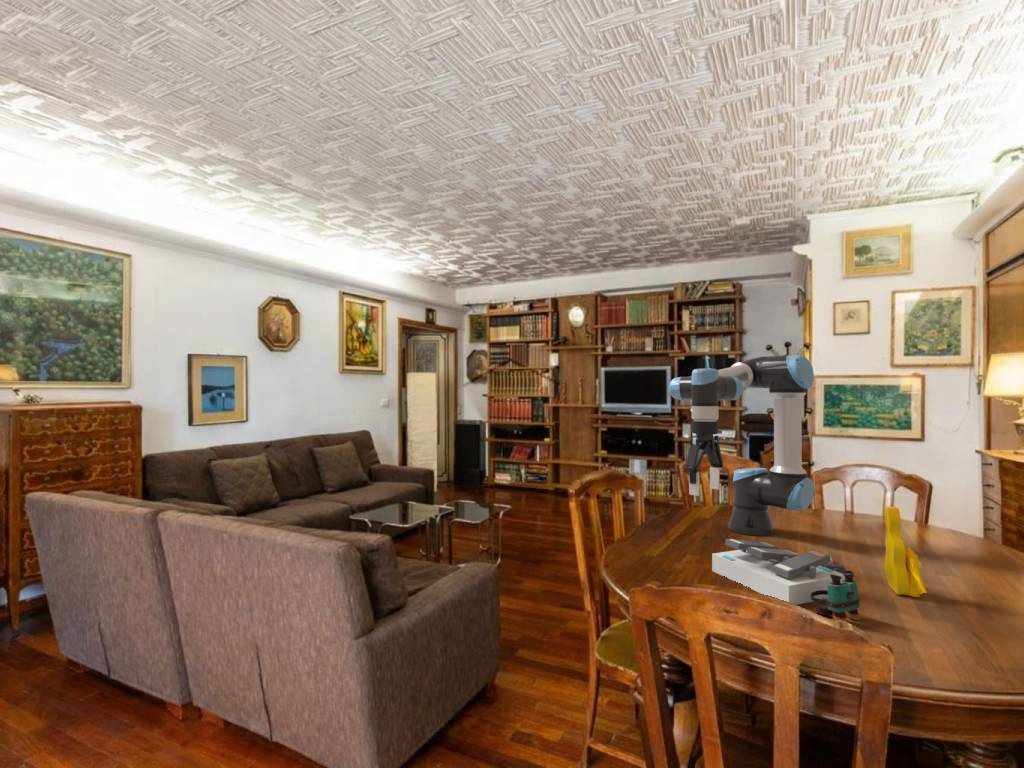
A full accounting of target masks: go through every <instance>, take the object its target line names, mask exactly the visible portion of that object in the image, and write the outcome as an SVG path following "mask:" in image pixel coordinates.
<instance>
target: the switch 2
mask: <svg viewBox="0 0 1024 768" xmlns="http://www.w3.org/2000/svg"><path fill="white" fill-rule="evenodd" d="M747 553H749V554H751V555H754V556H756V557H759V558H762V559H775V560H782V557H785V556H786V557H789V558H793V557H795V556H798V555H800V554H801V553H796V552H794V551H791V550H788V549H779V550H777V549H766V548H756V547H748V548H747Z"/></svg>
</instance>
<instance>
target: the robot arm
mask: <svg viewBox="0 0 1024 768" xmlns="http://www.w3.org/2000/svg"><path fill="white" fill-rule="evenodd" d="M814 380H815V375H814V369H813V366H812V363H811V362H810V360H809V358H807V357H805V355H802V354H801V355H800V354H787V355H774V356H773V355H772V356H771V355H770V356H759V357H755V358H750V359H746V360H743V361H740V362H735V363H733V364H732V365H731V366H730V367H725V368H721V369H716V368H695V369H693V370H692V372H691V375H690V376H679V377H674V378H673V379H671V381H670V383H669V386H668V387H669V394H670V396H671V397H672V398H673V399H675V400H681V401H684V400H686V401H687V400H689V401H690V400H691V409H690V412H691V419H692V421H691V425H690V426H691V433H692V434H695V437H690V439H689V440H690V442H689V449H688V453H687V457H686V462H685V465H684V470H685V472H687V473H688V482H689V483H688V485H689V487H688V491H689V492H688V493H689V494H688V495H690V496H697V497H698V496H700V472H699V469H700V466H701V463H702V460H703V457H704V455H706V456H707V459H708V461H709V464H710V467H709V489H711V490H720V469H721V468H724V461H723V456H722V452H721V451H722V450H721V447H720V441H719V435H718V434H719V422H718V420H719V401H725V402H728V401H729V402H730V401H734V400H737V399H739V398H740V397H741V395H742V393H743V390H744V389H746V388H747V389H748V388H752V389H755V388H756V389H768V392H769V393H768V394H769V395H770V396H772V397H773V459H774V460H773V466H772V467H771V468H770V469H769V471H768V468H765V467H747V468H745V467H744V468H739V469H736V470H734V472H733V479H732V485H733V486H732V487H733V488H732V489H733V495H732V496H733V497H732V498H733V509H732V511H731V515H730V519H729V520H728V529H729V530H730V531H732V532H734V533H737V534H741V535H748V536H756V537H757V536H761V537H763V536H769V535H772V534H774V525H773V523H772V521H771V517H770V514H769V511H768V510H769V507H774V508H779V509H784V510H788V511H796V512H803V511H805V510H806V509H808V507H810V505H811V503H812V501H813V499H814V495H815V484H814V481H813V480H812V479H811V478H809V477H808V472H807V471H806V470H805V469H804V468H803V465H802V464H803V462H802V461H803V455H802V453H803V452H802V450H803V448H802V447H803V442H802V440H803V439H802V437H803V436H802V419H803V418H802V417H803V416H802V415H803V414H802V413H803V412H802V411H803V410H802V408H803V407H802V406H803V405H802V398H804V396H806V394H807V389H810V388H811V387H812V386H813V384H814V383H813V382H814Z"/></svg>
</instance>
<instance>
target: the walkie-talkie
mask: <svg viewBox="0 0 1024 768" xmlns="http://www.w3.org/2000/svg"><path fill="white" fill-rule="evenodd" d="M824 553H825V554H827V553H826V552H824ZM830 559H831V561H830V562H828V563H825V564H823V565H820V566H822V567H825V568H828V569H831V570H834V571H836V572H839V573H842V574H843V572H844V571H845V568H844V566H843V565H842V564H841V563H839V561H837V560H836V559H835V558H834V557H833V556H832V555H830Z"/></svg>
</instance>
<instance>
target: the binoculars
mask: <svg viewBox="0 0 1024 768" xmlns="http://www.w3.org/2000/svg"><path fill="white" fill-rule="evenodd" d="M843 575H844V576H845V580H843V581H841V583H840V580H841V576H837V575H833V574H830V576H831V579H832V583H829V584H828V590H819V591H815V592H812V593H811V600H812V601H814V603H817V604H821V605H822V606H815V613H816V614H821V615H824V616H825V615H827V616H830V617H832V619H833V620H834V619H836V620H842V621H847V622H848V618H849V619H851V620H855V621H860V620H861V614H860V613H859V610H858V609H859V608H861V606H860V604H861V599H860V596H859V591H858V584H857V581H856V580H854V576H855V575H854V571H853V570H850V569H849V570H844V572H843ZM816 595H828V599H826V598H824V597H822V599H818V598H814V596H816ZM823 598H824V599H823ZM825 600H826V601H825ZM825 604H826V605H825Z"/></svg>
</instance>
